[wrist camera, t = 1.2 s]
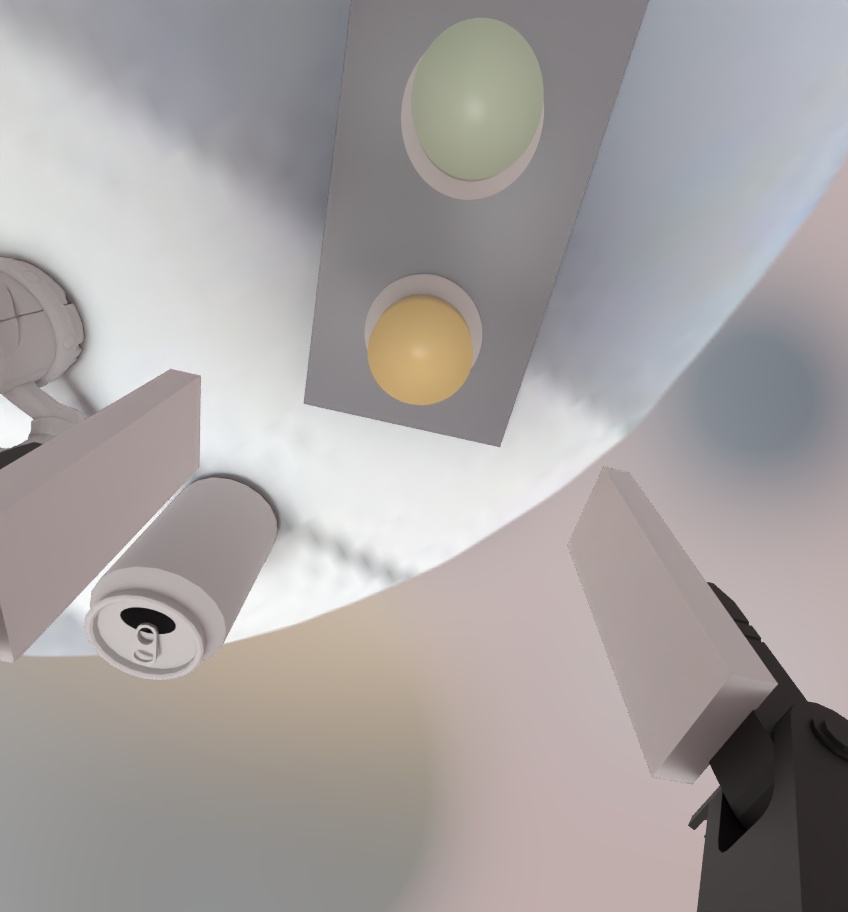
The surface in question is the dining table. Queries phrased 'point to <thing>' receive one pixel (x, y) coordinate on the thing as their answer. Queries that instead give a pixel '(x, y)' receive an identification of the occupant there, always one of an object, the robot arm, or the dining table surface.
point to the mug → (36, 346)
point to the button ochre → (420, 350)
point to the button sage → (477, 99)
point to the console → (455, 204)
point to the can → (182, 581)
